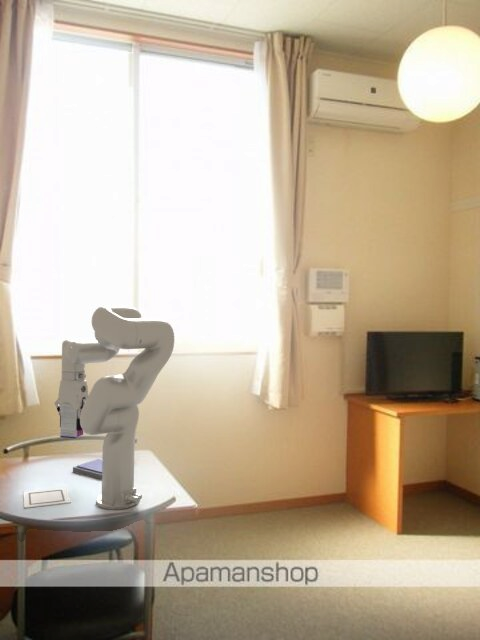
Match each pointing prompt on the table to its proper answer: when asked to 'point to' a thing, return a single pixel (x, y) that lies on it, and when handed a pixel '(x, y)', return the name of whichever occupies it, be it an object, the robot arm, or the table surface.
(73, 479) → the table surface
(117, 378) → the robot arm
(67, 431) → the supplement box
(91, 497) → the table surface
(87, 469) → the ink pad
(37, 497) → the marked card
